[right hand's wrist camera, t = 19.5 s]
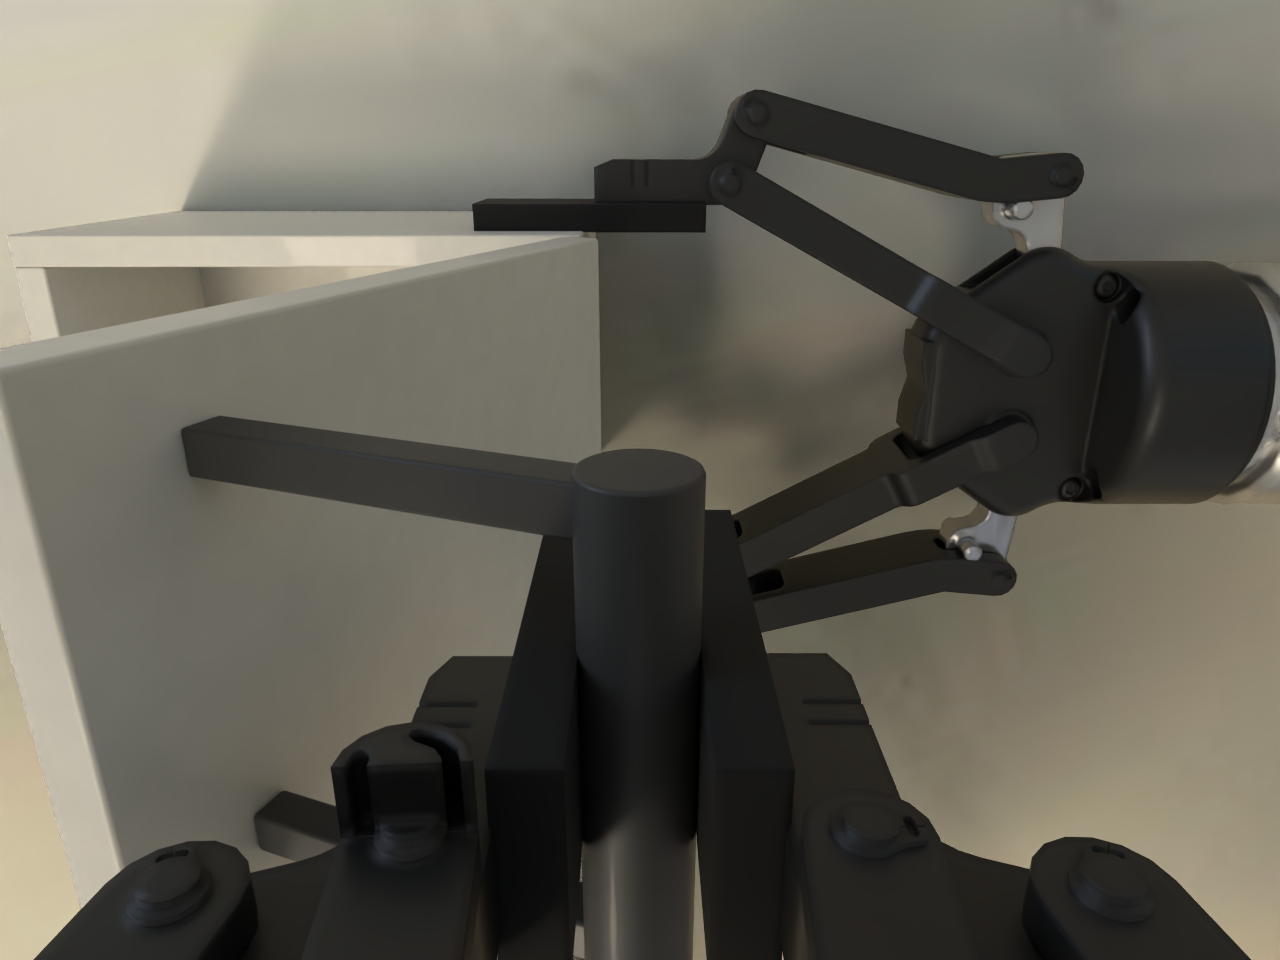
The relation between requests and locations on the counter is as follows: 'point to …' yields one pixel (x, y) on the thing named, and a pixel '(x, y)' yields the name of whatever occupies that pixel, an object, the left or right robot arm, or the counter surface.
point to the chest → (225, 259)
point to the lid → (344, 564)
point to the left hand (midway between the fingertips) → (491, 383)
